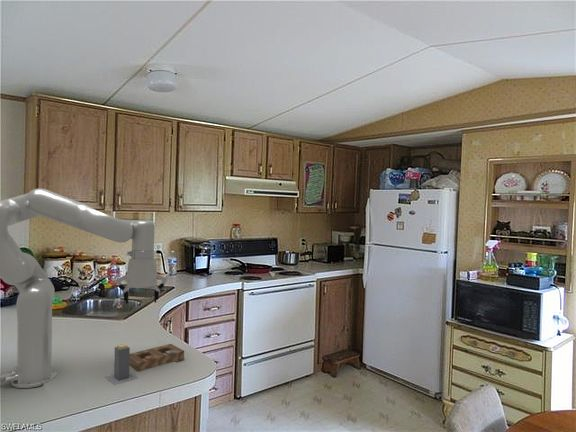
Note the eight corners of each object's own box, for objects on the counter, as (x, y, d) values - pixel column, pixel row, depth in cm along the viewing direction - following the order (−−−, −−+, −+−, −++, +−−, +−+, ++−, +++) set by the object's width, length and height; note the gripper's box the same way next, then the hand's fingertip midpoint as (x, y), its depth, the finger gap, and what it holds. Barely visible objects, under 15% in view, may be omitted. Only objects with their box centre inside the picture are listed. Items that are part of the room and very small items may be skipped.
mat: (114, 386, 128) (114, 385, 128) (104, 378, 133) (104, 376, 133) (138, 379, 133) (138, 377, 133) (128, 372, 139) (128, 370, 139)
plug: (118, 380, 131) (119, 347, 131) (114, 377, 133) (114, 345, 133) (129, 377, 133) (129, 345, 133) (124, 374, 136) (125, 342, 135)
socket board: (137, 373, 138) (138, 361, 138) (125, 364, 145) (125, 353, 145) (184, 359, 151) (184, 349, 151) (170, 352, 158) (170, 342, 158)
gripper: (115, 256, 138) (114, 305, 138) (168, 256, 143) (166, 303, 144) (117, 253, 145) (116, 300, 145) (167, 253, 151) (165, 298, 151)
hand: (141, 302), depth 145 cm, fingers open, 9 cm apart
